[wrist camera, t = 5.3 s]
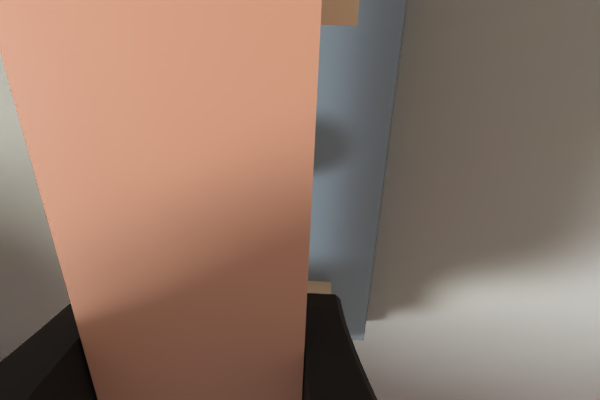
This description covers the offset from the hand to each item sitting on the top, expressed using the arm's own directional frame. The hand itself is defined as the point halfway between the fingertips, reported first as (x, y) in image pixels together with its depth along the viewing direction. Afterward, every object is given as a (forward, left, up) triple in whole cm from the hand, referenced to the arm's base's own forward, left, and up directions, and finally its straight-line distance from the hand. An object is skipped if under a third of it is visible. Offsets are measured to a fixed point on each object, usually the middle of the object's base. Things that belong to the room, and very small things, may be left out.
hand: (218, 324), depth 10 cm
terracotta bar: (0, 0, -3) cm, 3 cm away
